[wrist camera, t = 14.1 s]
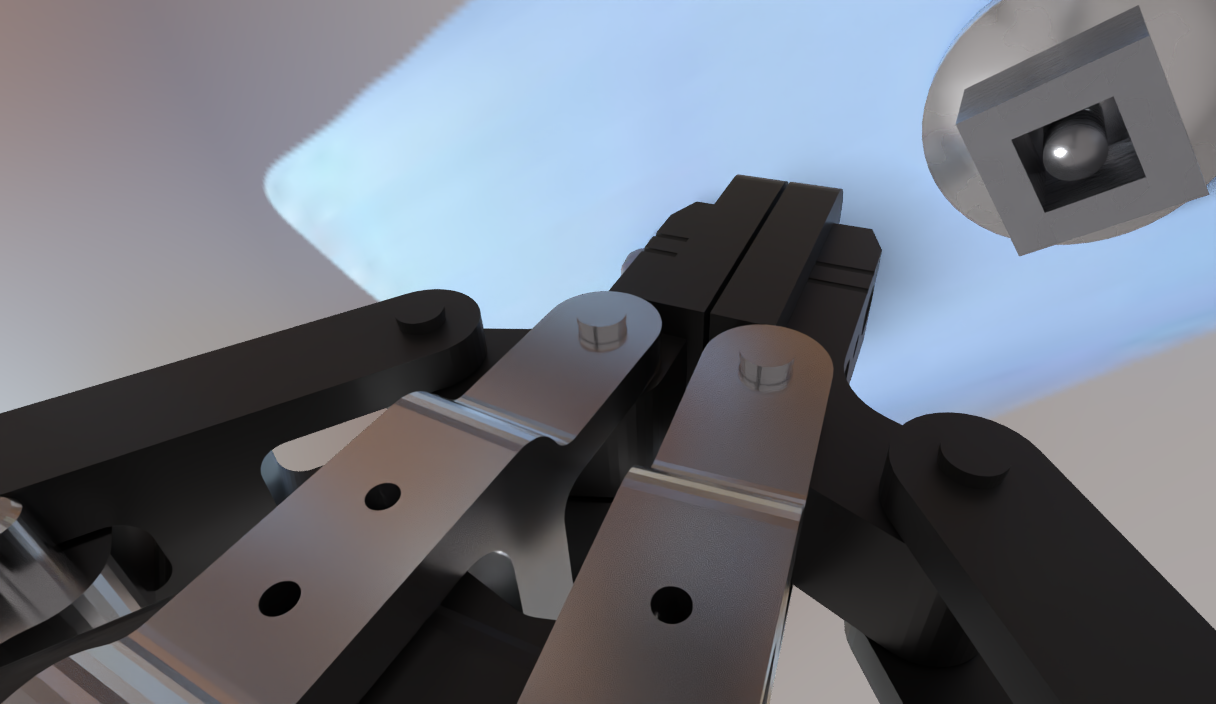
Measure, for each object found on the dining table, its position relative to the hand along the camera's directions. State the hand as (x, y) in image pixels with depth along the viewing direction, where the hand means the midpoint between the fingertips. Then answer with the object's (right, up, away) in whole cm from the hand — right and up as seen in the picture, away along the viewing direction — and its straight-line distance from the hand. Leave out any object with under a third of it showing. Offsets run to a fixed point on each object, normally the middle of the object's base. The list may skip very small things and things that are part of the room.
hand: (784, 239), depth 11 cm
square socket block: (+16, +7, +18) cm, 25 cm away
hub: (+16, +8, +19) cm, 26 cm away
